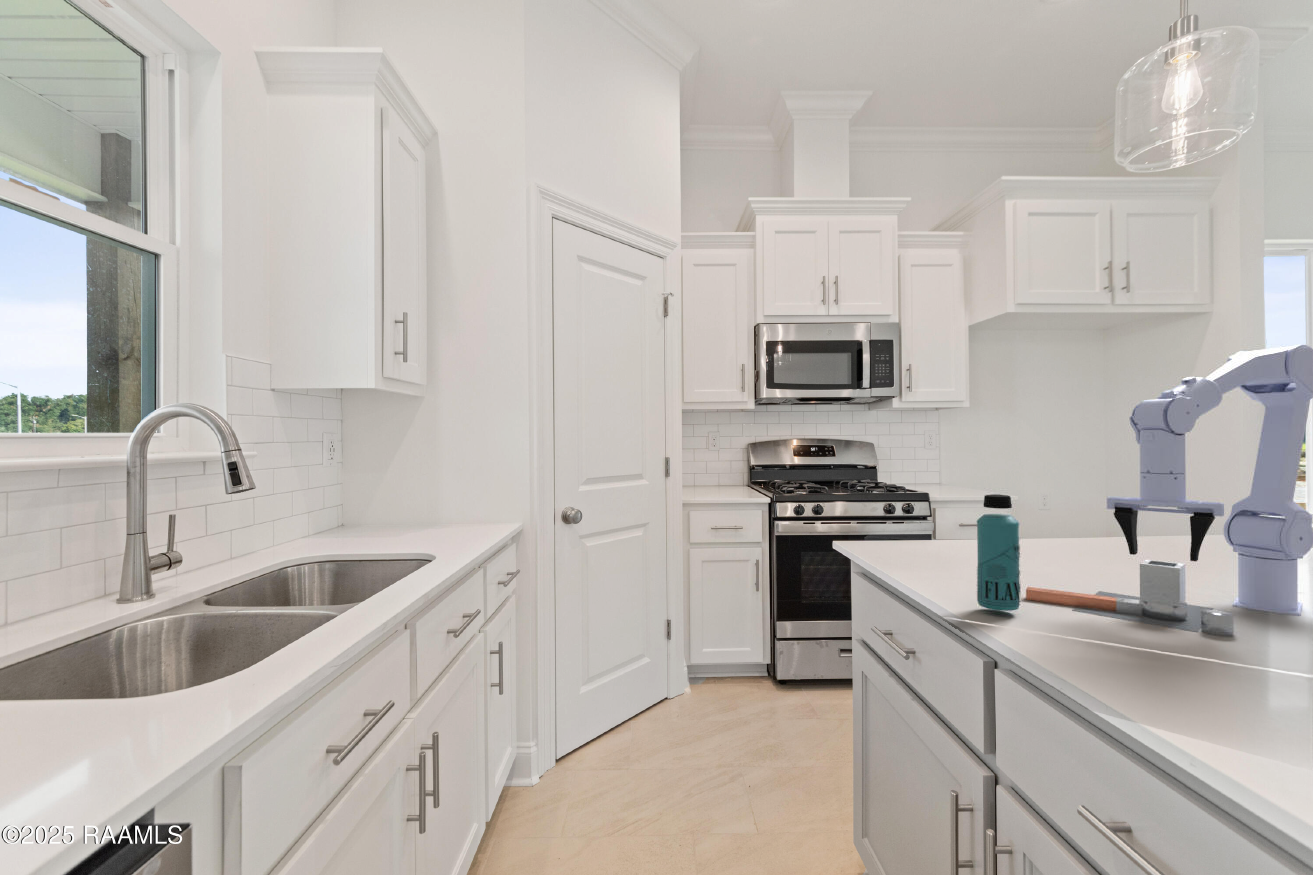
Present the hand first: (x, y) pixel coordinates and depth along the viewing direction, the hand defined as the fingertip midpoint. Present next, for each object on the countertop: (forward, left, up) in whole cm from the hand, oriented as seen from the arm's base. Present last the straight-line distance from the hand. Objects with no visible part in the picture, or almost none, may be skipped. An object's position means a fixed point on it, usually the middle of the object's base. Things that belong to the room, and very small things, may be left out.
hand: (1163, 556), depth 100 cm
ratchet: (+1, -8, -10) cm, 13 cm away
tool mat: (-2, -3, -10) cm, 11 cm away
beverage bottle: (+17, -19, -10) cm, 27 cm away
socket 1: (0, 0, -7) cm, 7 cm away
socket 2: (+5, +7, -10) cm, 13 cm away
